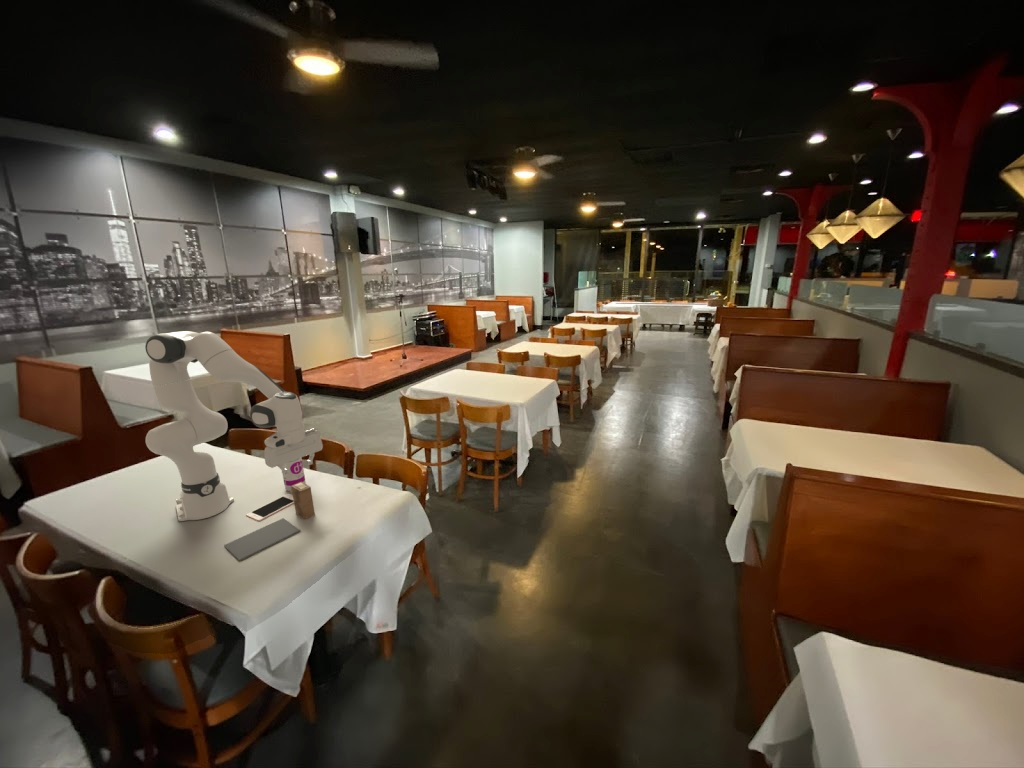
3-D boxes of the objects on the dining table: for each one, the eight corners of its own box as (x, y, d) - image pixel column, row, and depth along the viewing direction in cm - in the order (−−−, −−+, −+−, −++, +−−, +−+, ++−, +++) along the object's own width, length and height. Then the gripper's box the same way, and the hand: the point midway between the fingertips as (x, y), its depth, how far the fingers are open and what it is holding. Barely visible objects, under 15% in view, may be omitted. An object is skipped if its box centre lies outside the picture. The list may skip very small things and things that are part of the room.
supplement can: (309, 485, 184) (305, 454, 180) (292, 494, 177) (286, 462, 173) (299, 481, 188) (294, 451, 184) (281, 489, 181) (275, 457, 177)
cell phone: (301, 500, 173) (301, 498, 173) (259, 522, 157) (258, 520, 157) (288, 495, 177) (288, 493, 177) (245, 516, 162) (245, 514, 161)
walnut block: (295, 513, 163) (291, 485, 159) (305, 508, 166) (301, 481, 163) (304, 519, 159) (300, 490, 155) (314, 514, 162) (310, 486, 158)
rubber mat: (224, 546, 143) (224, 545, 143) (283, 519, 158) (283, 518, 158) (239, 561, 136) (239, 559, 135) (300, 531, 151) (300, 530, 151)
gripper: (314, 425, 163) (319, 457, 167) (259, 442, 148) (266, 477, 151) (323, 428, 160) (328, 461, 163) (267, 446, 144) (274, 481, 147)
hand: (297, 468), depth 157 cm, fingers open, 8 cm apart
